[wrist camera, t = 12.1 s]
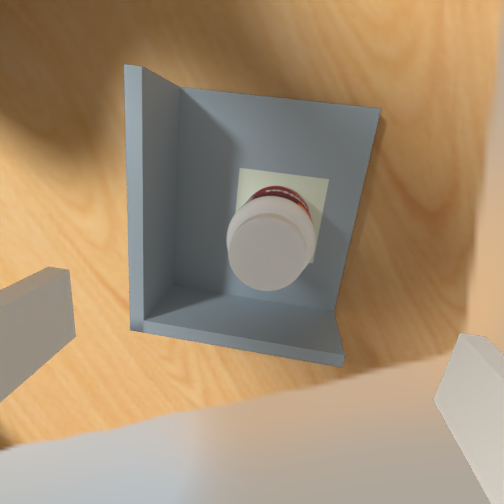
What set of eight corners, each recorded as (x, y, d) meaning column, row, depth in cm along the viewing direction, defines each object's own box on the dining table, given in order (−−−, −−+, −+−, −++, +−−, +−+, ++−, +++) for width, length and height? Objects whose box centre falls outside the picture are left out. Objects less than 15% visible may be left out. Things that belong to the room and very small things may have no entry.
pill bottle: (324, 210, 28) (343, 246, 17) (283, 261, 30) (279, 321, 19) (268, 169, 27) (253, 182, 17) (231, 224, 29) (197, 266, 19)
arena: (171, 88, 27) (123, 64, 19) (377, 110, 26) (413, 93, 18) (167, 288, 34) (130, 330, 26) (330, 315, 32) (342, 367, 25)
